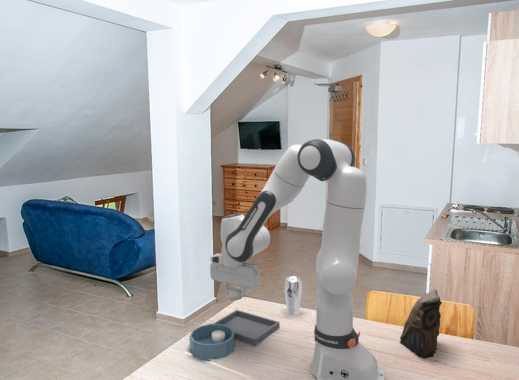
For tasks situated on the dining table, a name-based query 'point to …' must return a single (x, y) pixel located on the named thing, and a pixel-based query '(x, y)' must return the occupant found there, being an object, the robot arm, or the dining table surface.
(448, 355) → the dining table surface
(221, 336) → the stone
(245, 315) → the tray
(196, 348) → the bowl
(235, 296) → the stone
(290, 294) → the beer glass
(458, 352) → the dining table surface
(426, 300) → the owl
